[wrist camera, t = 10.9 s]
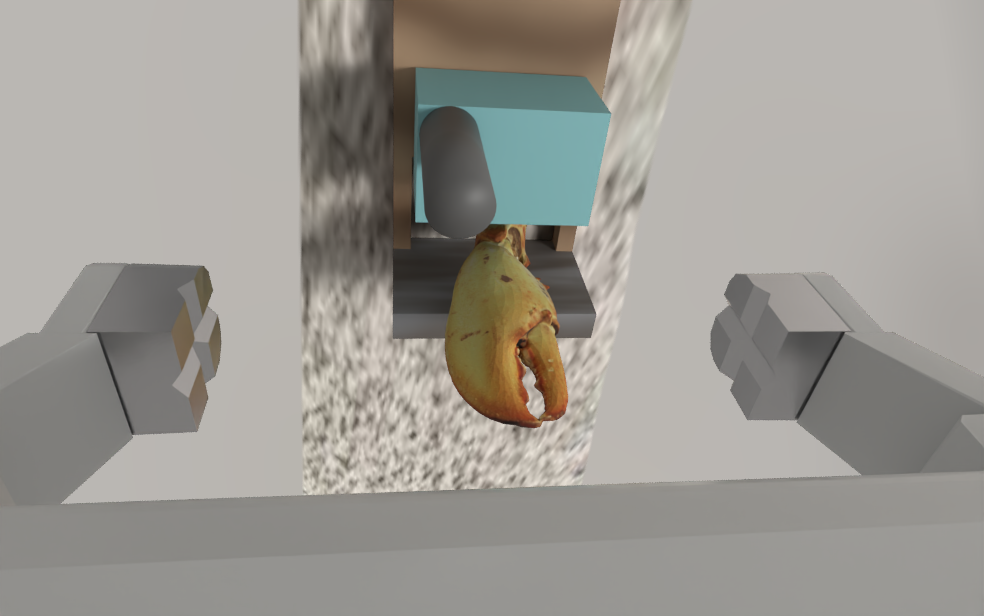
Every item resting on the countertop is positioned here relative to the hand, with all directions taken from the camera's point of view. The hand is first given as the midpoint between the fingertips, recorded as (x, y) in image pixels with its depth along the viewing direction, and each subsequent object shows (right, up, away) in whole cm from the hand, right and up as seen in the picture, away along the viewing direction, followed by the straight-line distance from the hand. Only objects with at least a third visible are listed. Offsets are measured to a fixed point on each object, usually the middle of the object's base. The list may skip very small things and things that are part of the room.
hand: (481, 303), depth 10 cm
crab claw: (0, +8, +36) cm, 37 cm away
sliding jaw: (0, +11, +31) cm, 33 cm away
